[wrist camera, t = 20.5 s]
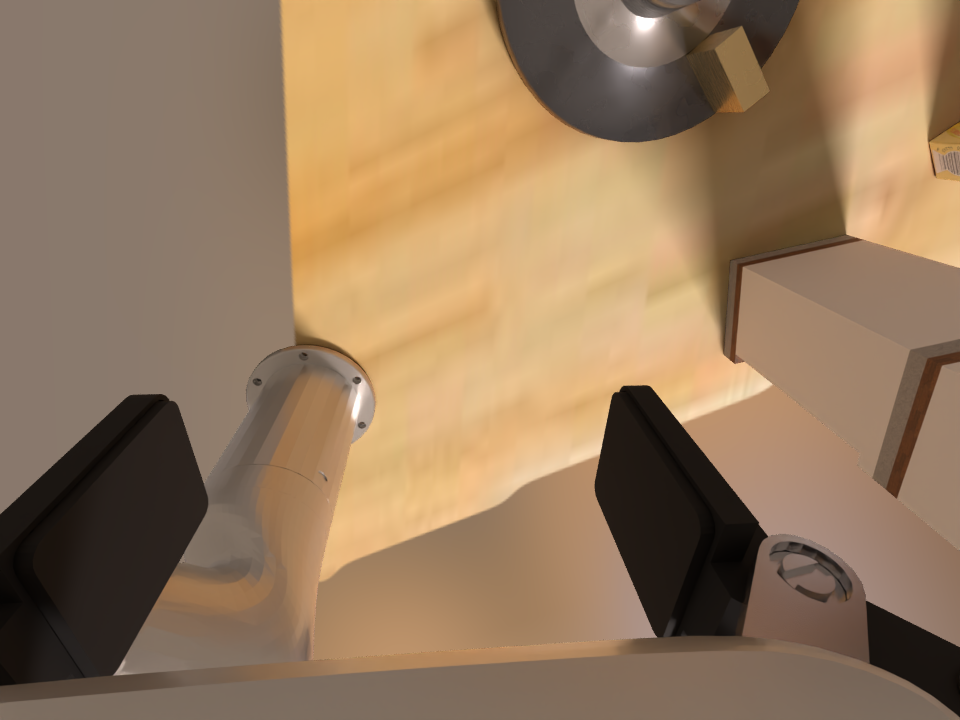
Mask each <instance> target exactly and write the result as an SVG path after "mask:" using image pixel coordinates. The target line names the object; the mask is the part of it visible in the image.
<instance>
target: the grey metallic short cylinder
mask: <svg viewBox="0 0 960 720" xmlns="http://www.w3.org/2000/svg"><path fill="white" fill-rule="evenodd" d="M621 1H622V3H623V4H624V5H625V7H626V8H627V9H628V10H629V11H630V12H632V13H633V14H635V15H637V16H639V17H642V18H647V19H654V18H659V17H662V16H665V15H667V14H670V13H672V12H674V11H677V10H679V9H682V8H684V7H686V6H689V5H691V4H693V3H696V2H698V1H701V0H621Z"/></svg>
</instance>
